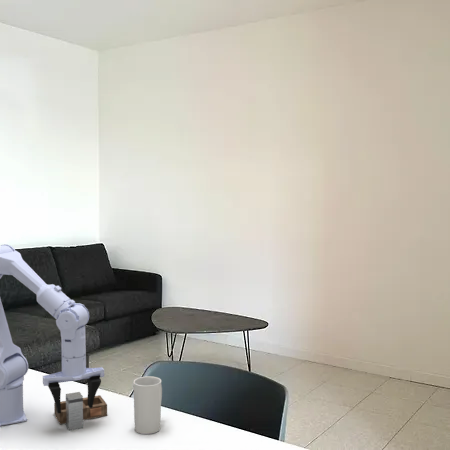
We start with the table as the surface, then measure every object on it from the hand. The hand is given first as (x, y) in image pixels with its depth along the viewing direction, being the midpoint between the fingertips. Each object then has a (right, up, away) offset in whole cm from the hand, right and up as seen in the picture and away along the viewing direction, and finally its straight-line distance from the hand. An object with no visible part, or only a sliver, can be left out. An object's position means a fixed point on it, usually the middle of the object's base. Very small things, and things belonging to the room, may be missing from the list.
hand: (74, 409), depth 139 cm
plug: (0, -5, 0) cm, 5 cm away
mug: (+19, -5, +1) cm, 19 cm away
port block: (0, -4, +7) cm, 8 cm away
